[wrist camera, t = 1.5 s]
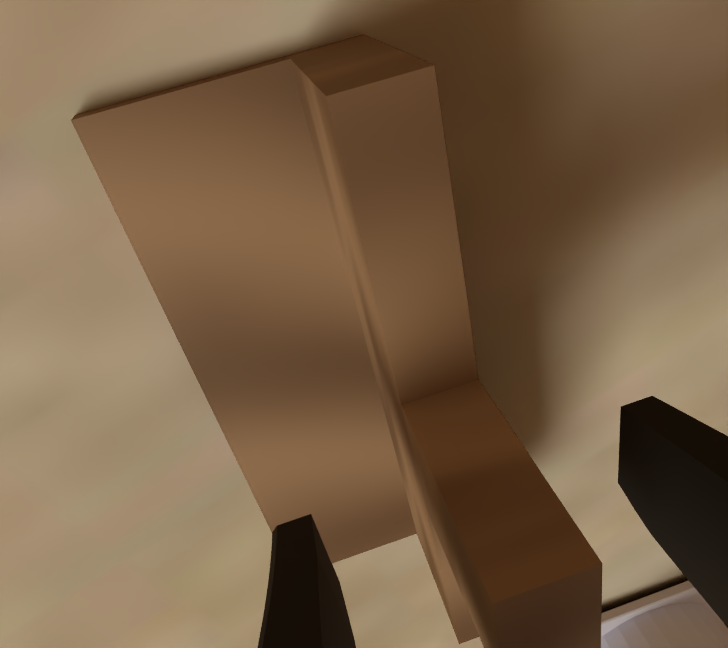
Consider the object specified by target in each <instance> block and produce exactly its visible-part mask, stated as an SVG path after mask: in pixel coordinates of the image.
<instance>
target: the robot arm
mask: <svg viewBox="0 0 728 648" xmlns="http://www.w3.org/2000/svg"><path fill="white" fill-rule="evenodd" d="M618 483H619V485H620V487H621V488H622V490H623V491H624V493H625V495H626V496H627V498H628V499H629V501H630V503H631V504H632V506H633V507H634V509H635V511H636V512H637V514H638V515H639V517H640V518H641V520H642V521H643V523H644V524H645V526H646V527H647V529H648V530H649V532H650V533H651V535H652V536H653V537H654V538H655V540H656V541H657V542H658V543H659V545H660V546H661V547H662V548H663V550H664V551H665V552H666V553H667V554H668V556H669V557H670V558H671V559H672V561H673V562H674V563H675V564H676V566H677V567H678V568H679V569H680V570H681V572H682V573H683V574H684V575H685V577H686V578H687V579H688V581H686V582H683V583H680V584H678V585H675V586H672V587H670V588H667V589H664V590H662V591H659V592H656V593H654V594H651V595H648V596H646V597H643V598H640V599H638V600H635V601H632V602H630V603H627V604H624V605H622V606H619V607H616V608H614V609H611V610H608V611H606V612H603V613H601V648H728V436H726V435H725V434H723V433H721V432H719V431H717V430H715V429H713V428H711V427H709V426H708V425H706V424H704V423H702V422H700V421H698V420H696V419H695V418H693V417H691V416H689V415H687V414H685V413H683V412H682V411H680V410H678V409H676V408H674V407H672V406H670V405H669V404H667V403H665V402H663V401H661V400H659V399H657V398H655V397H653V396H650V397H647V398H644V399H642V400H639V401H636V402H633V403H630V404H627V405H624V406H621V416H620V443H619V470H618ZM724 624H725V625H726V626H727V627H726V626H725V625H724ZM258 648H356V646H355V640H354V636H353V633H352V629H351V625H350V621H349V617H348V613H347V609H346V605H345V601H344V597H343V594H342V590H341V586H340V582H339V580H338V577H337V575H336V572H335V570H334V568H333V565H332V563H331V560H330V558H329V556H328V553H327V551H326V548H325V546H324V544H323V541H322V539H321V536H320V534H319V532H318V529H317V527H316V524H315V522H314V520H313V517H312V515H311V514H309V515H306V516H303V517H300V518H297V519H294V520H292V521H289V522H286V523H283V524H280V525H277V526H276V528H275V529H274V531H273V532H272V552H271V563H270V573H269V581H268V589H267V596H266V603H265V610H264V616H263V621H262V627H261V632H260V638H259V643H258Z"/></svg>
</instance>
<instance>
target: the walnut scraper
mask: <svg viewBox="0 0 728 648" xmlns="http://www.w3.org/2000/svg"><path fill="white" fill-rule="evenodd" d="M71 121H72V123H73V125H74V127H75V129H76V131H77V134H78V136H79V138H80V140H81V142H82V144H83V146H84V148H85V150H86V152H87V154H88V156H89V158H90V160H91V162H92V164H93V166H94V168H95V170H96V173H97V175H98V177H99V179H100V181H101V183H102V185H103V187H104V189H105V191H106V193H107V195H108V197H109V199H110V201H111V203H112V205H113V207H114V209H115V212H116V214H117V216H118V218H119V220H120V222H121V224H122V226H123V228H124V230H125V232H126V234H127V236H128V238H129V240H130V242H131V244H132V246H133V248H134V251H135V253H136V255H137V257H138V259H139V261H140V263H141V265H142V267H143V269H144V271H145V273H146V275H147V277H148V279H149V281H150V283H151V285H152V287H153V290H154V292H155V294H156V296H157V298H158V300H159V302H160V304H161V306H162V308H163V310H164V312H165V314H166V316H167V318H168V320H169V322H170V324H171V326H172V329H173V331H174V333H175V335H176V337H177V339H178V341H179V343H180V345H181V347H182V349H183V351H184V353H185V355H186V357H187V359H188V361H189V363H190V365H191V368H192V370H193V372H194V374H195V376H196V378H197V380H198V382H199V384H200V386H201V388H202V390H203V392H204V394H205V396H206V398H207V400H208V402H209V404H210V407H211V409H212V411H213V413H214V415H215V417H216V419H217V421H218V423H219V425H220V427H221V429H222V431H223V433H224V435H225V437H226V439H227V441H228V443H229V446H230V448H231V450H232V452H233V454H234V456H235V458H236V460H237V462H238V464H239V466H240V468H241V470H242V472H243V474H244V476H245V478H246V480H247V482H248V485H249V487H250V489H251V491H252V493H253V495H254V497H255V499H256V501H257V503H258V505H259V507H260V509H261V511H262V513H263V515H264V517H265V519H266V521H267V524H268V526H269V528H270V530H271V532H273V531H274V529H275V528H276V526H277V525H280V524H283V523H286V522H289V521H292V520H294V519H297V518H300V517H303V516H306V515H309V514H311V515H312V517H313V520H314V522H315V524H316V527H317V529H318V532H319V534H320V536H321V539H322V541H323V544H324V546H325V548H326V551H327V553H328V556H329V558H330V560H331V563H334V562H337V561H340V560H343V559H346V558H349V557H351V556H354V555H357V554H360V553H363V552H366V551H368V550H371V549H374V548H377V547H380V546H382V545H385V544H388V543H391V542H394V541H397V540H399V539H402V538H405V537H408V536H411V535H414V534H416V533H417V535H418V538H419V540H420V543H421V545H422V548H423V551H424V553H425V556H426V558H427V561H428V564H429V566H430V569H431V571H432V574H433V577H434V579H435V582H436V584H437V587H438V590H439V592H440V595H441V598H442V600H443V603H444V605H445V608H446V611H447V613H448V616H449V618H450V621H451V624H452V626H453V629H454V631H455V634H456V637H457V639H458V642H459V644H460V643H463V642H466V641H469V640H471V639H474V638H477V637H479V636H480V639H481V641H482V644H483V646H484V648H601V607H602V562H601V561H600V559H599V558H598V556H597V555H596V553H595V552H594V550H593V549H592V547H591V546H590V545H589V543H588V542H587V540H586V539H585V537H584V536H583V534H582V533H581V531H580V530H579V528H578V527H577V525H576V524H575V522H574V521H573V519H572V518H571V516H570V515H569V513H568V512H567V510H566V509H565V507H564V506H563V504H562V503H561V501H560V500H559V498H558V497H557V495H556V494H555V492H554V491H553V490H552V488H551V487H550V485H549V484H548V482H547V481H546V479H545V478H544V476H543V475H542V473H541V472H540V470H539V469H538V467H537V466H536V464H535V463H534V461H533V460H532V458H531V457H530V455H529V454H528V452H527V451H526V449H525V448H524V446H523V445H522V443H521V442H520V440H519V439H518V437H517V436H516V435H515V433H514V432H513V430H512V429H511V427H510V426H509V424H508V423H507V421H506V420H505V418H504V417H503V415H502V414H501V412H500V411H499V409H498V408H497V406H496V405H495V403H494V402H493V400H492V399H491V397H490V396H489V394H488V393H487V391H486V390H485V388H484V387H483V385H482V384H481V383H480V381H479V379H478V372H477V365H476V358H475V351H474V344H473V337H472V330H471V322H470V315H469V308H468V301H467V294H466V287H465V280H464V272H463V265H462V258H461V251H460V244H459V237H458V230H457V223H456V215H455V208H454V201H453V194H452V187H451V180H450V173H449V166H448V158H447V151H446V144H445V137H444V130H443V123H442V116H441V108H440V101H439V94H438V87H437V80H436V73H435V66H434V65H433V64H431V63H428V62H426V61H424V60H421V59H419V58H417V57H415V56H412V55H410V54H408V53H405V52H403V51H401V50H398V49H396V48H394V47H391V46H389V45H387V44H385V43H382V42H380V41H378V40H375V39H373V38H371V37H368V36H366V35H360V36H356V37H353V38H349V39H346V40H342V41H339V42H335V43H331V44H328V45H324V46H321V47H317V48H314V49H310V50H306V51H303V52H299V53H296V54H292V55H289V56H285V57H281V58H278V59H274V60H271V61H267V62H264V63H260V64H256V65H253V66H249V67H246V68H242V69H239V70H235V71H231V72H228V73H224V74H221V75H217V76H214V77H210V78H206V79H203V80H199V81H196V82H192V83H189V84H185V85H181V86H178V87H174V88H171V89H167V90H164V91H160V92H156V93H153V94H149V95H146V96H142V97H139V98H135V99H131V100H128V101H124V102H121V103H117V104H114V105H110V106H106V107H103V108H99V109H96V110H92V111H89V112H85V113H81V114H78V115H75V116H74V117H73V119H72V120H71Z"/></svg>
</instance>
